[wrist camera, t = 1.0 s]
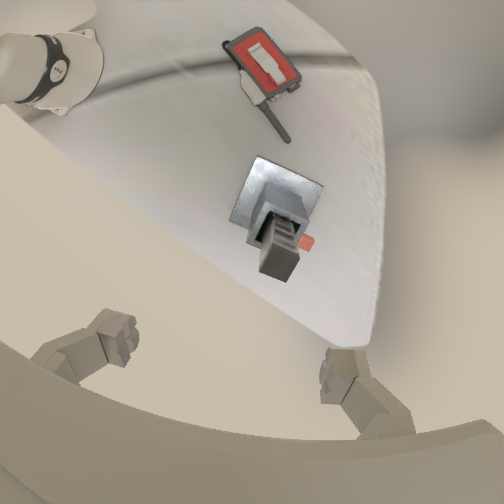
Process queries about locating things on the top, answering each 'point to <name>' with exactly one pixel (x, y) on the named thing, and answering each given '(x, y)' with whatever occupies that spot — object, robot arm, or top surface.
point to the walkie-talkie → (263, 70)
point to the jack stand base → (275, 201)
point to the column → (278, 247)
